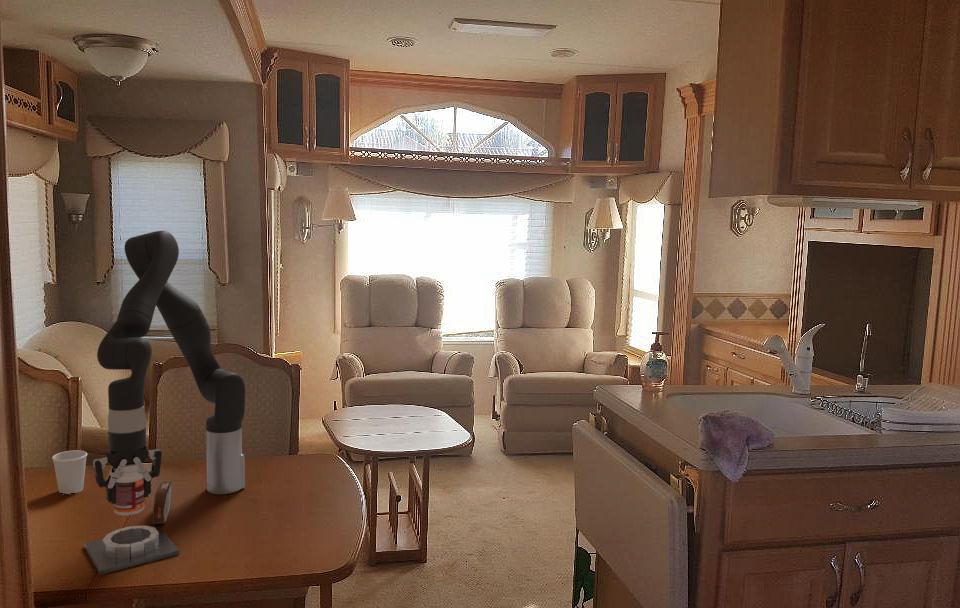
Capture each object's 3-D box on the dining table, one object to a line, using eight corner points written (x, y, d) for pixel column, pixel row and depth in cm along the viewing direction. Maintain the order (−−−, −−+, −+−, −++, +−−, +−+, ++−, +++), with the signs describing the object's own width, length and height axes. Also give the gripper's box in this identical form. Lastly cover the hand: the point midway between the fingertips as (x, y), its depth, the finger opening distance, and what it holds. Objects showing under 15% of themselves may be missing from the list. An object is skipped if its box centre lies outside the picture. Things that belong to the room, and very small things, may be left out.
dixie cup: (90, 492, 196) (89, 456, 194) (54, 498, 191) (53, 462, 190) (86, 483, 202) (85, 448, 201) (52, 488, 198) (50, 453, 197)
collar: (158, 529, 174) (158, 515, 174) (179, 554, 162) (178, 539, 161) (84, 547, 164) (83, 532, 164) (100, 575, 152) (99, 559, 151)
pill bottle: (141, 515, 160) (139, 467, 158) (110, 517, 158) (109, 468, 157) (147, 504, 166) (146, 458, 164) (118, 506, 164) (116, 459, 163)
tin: (161, 506, 188) (160, 475, 187) (174, 505, 189) (173, 474, 188) (151, 530, 174) (150, 496, 173) (166, 529, 175) (165, 495, 174)
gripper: (156, 417, 167) (158, 487, 169) (87, 427, 158) (89, 501, 160) (166, 425, 161) (167, 497, 163) (94, 436, 152) (96, 512, 154)
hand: (129, 499), depth 162 cm, fingers closed on pill bottle, 6 cm apart
